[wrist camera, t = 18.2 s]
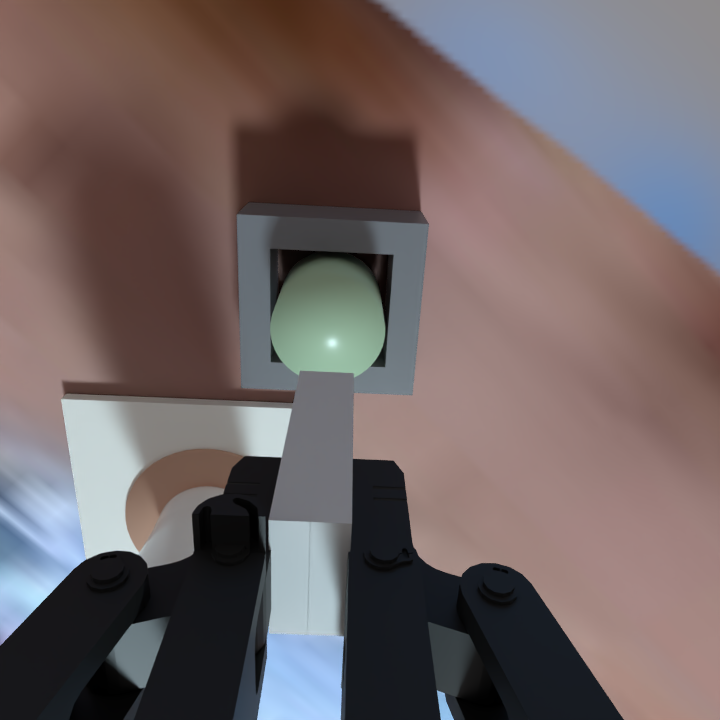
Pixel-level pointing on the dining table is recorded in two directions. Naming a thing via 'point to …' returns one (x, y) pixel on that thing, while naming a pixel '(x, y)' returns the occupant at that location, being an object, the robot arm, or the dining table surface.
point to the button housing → (334, 234)
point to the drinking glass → (176, 527)
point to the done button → (328, 315)
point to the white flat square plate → (157, 456)
